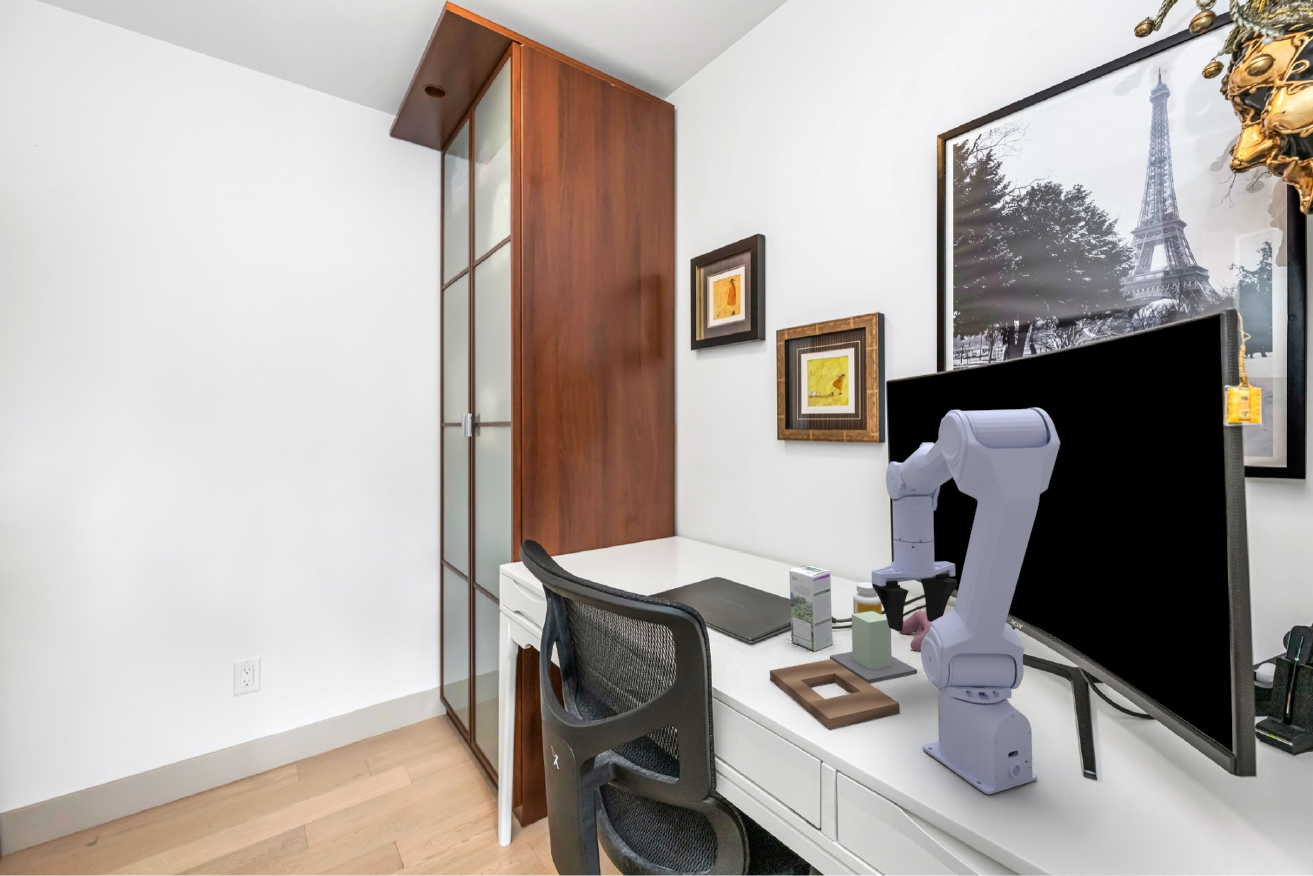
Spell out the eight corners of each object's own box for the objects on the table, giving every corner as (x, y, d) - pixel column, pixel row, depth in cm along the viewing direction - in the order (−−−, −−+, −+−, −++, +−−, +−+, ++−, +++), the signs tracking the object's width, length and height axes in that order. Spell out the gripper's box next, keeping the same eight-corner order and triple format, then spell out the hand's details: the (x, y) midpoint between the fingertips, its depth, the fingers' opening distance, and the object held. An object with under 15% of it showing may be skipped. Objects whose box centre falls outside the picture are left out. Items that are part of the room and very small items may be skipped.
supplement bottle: (848, 628, 110) (847, 582, 110) (871, 625, 111) (870, 580, 111) (864, 638, 105) (863, 589, 105) (888, 635, 106) (887, 587, 106)
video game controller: (933, 661, 97) (951, 628, 97) (909, 649, 98) (927, 616, 97) (917, 640, 107) (933, 610, 106) (895, 629, 108) (911, 599, 107)
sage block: (891, 665, 91) (890, 619, 91) (870, 669, 90) (869, 622, 90) (873, 655, 96) (872, 610, 96) (852, 659, 94) (851, 614, 94)
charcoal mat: (917, 673, 90) (917, 669, 90) (868, 683, 86) (868, 679, 86) (875, 650, 99) (875, 647, 99) (829, 658, 96) (829, 655, 96)
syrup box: (833, 644, 102) (832, 569, 102) (813, 652, 99) (811, 574, 99) (810, 635, 107) (808, 563, 107) (790, 643, 104) (788, 568, 103)
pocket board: (899, 713, 77) (899, 702, 77) (829, 729, 74) (829, 718, 74) (830, 667, 92) (830, 659, 92) (770, 679, 89) (769, 670, 89)
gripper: (929, 530, 89) (931, 611, 89) (857, 538, 85) (859, 623, 85) (965, 538, 82) (967, 625, 82) (889, 547, 78) (891, 639, 78)
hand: (915, 625), depth 83 cm, fingers open, 7 cm apart
